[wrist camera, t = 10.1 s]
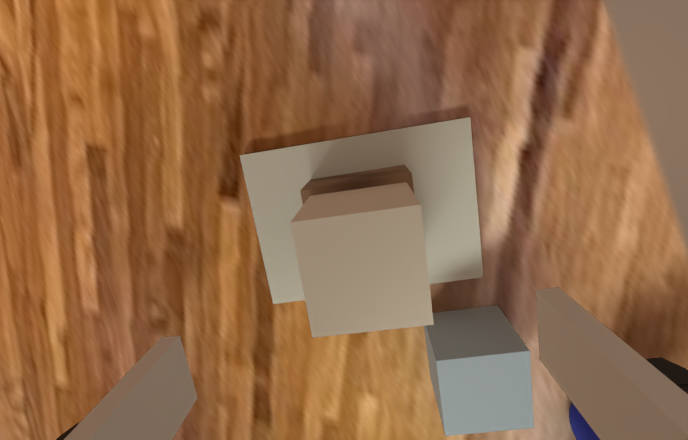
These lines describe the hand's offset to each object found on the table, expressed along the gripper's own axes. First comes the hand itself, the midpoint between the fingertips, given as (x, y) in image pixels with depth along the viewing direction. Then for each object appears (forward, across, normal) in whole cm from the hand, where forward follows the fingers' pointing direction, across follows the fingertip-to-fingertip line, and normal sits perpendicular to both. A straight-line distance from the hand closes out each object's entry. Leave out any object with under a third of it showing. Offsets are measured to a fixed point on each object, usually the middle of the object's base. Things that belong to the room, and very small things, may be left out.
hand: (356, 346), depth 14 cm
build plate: (+19, 0, 0) cm, 19 cm away
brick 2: (+19, +7, -12) cm, 24 cm away
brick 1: (+13, 0, 0) cm, 13 cm away
